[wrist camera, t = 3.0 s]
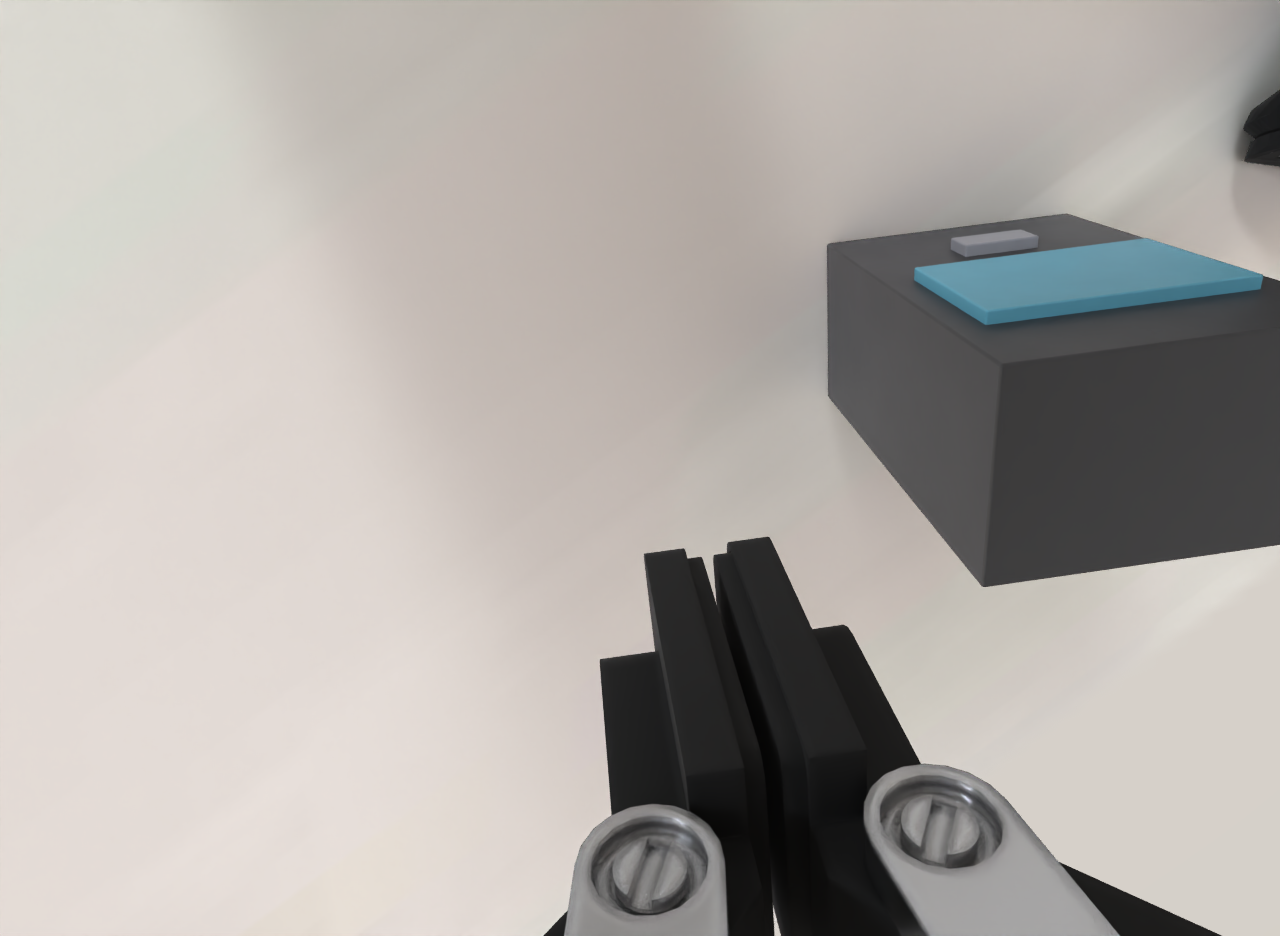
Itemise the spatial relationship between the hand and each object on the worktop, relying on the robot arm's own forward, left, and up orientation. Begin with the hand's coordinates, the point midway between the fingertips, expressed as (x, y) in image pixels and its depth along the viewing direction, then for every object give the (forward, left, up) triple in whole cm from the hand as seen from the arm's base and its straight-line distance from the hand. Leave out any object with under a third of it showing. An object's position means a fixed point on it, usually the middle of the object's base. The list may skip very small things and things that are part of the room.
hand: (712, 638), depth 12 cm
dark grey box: (0, +8, -11) cm, 14 cm away
